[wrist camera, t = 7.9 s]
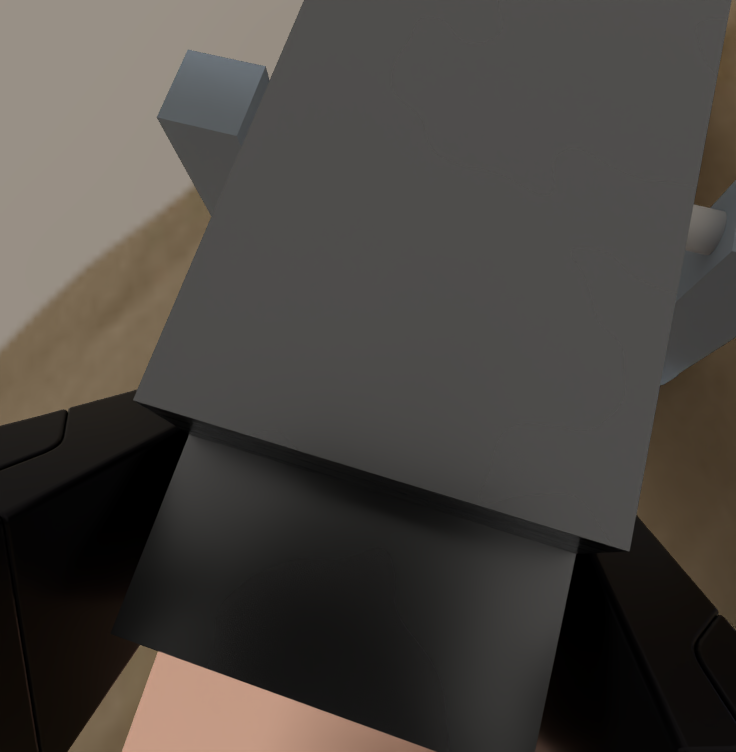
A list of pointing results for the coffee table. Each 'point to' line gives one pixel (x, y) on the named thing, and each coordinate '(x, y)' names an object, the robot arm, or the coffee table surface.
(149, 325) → the coffee table surface
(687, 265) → the rail stand
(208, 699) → the terracotta mat
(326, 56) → the gray block
